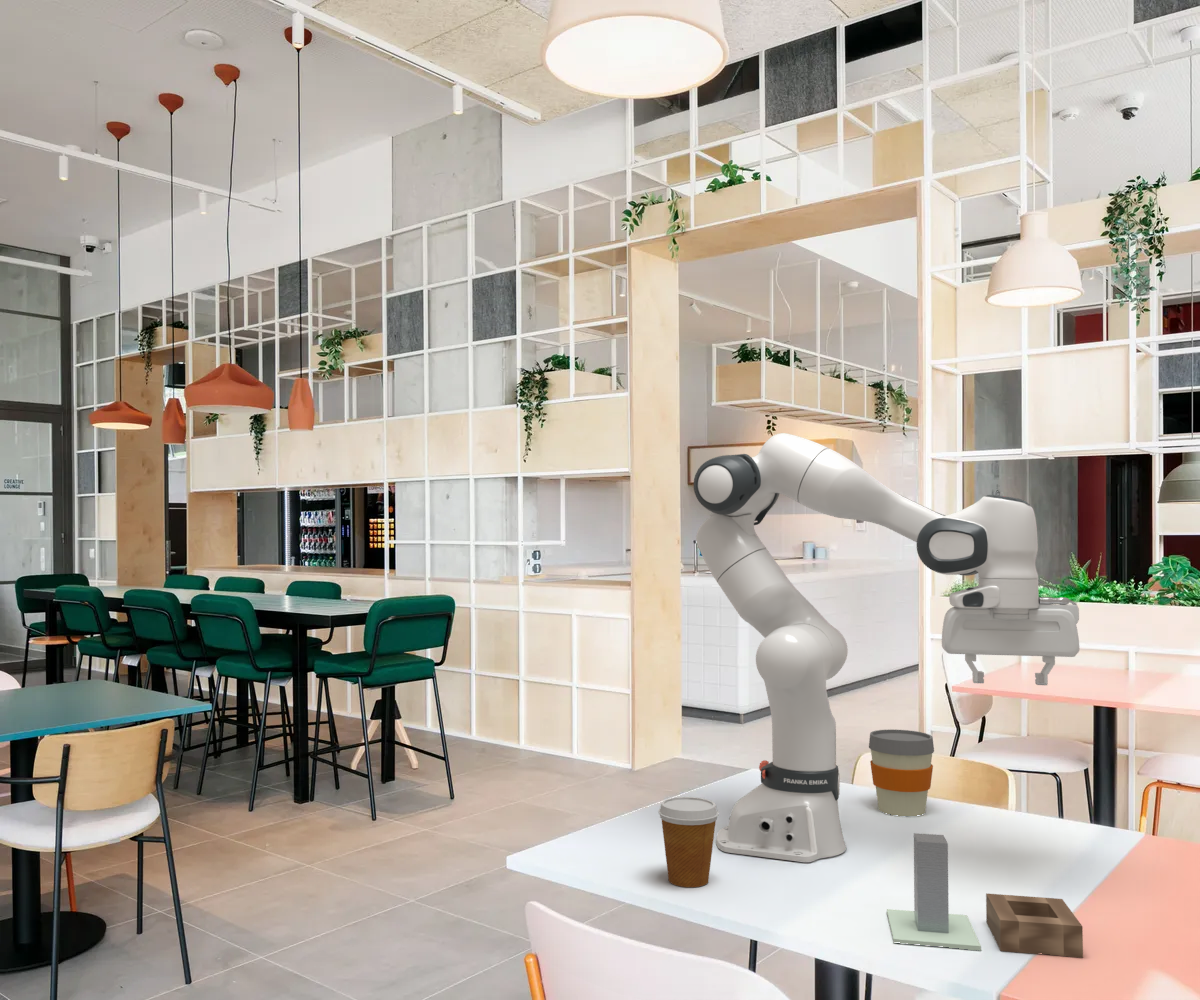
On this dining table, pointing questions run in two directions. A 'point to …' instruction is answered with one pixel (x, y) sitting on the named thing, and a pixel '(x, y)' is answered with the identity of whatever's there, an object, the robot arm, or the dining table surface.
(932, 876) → the peg
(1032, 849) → the dining table surface
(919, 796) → the reusable coffee cup
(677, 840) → the disposable coffee cup
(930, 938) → the mat
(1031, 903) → the socket block
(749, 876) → the dining table surface
